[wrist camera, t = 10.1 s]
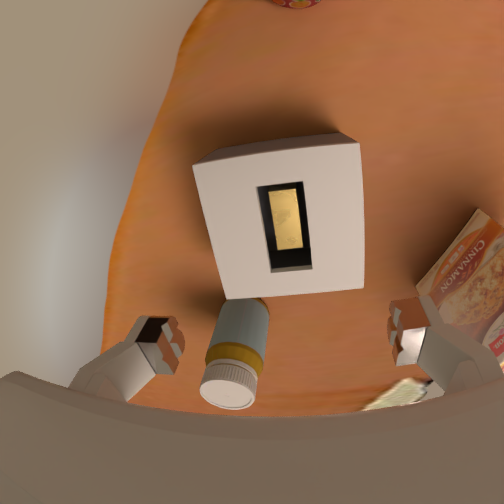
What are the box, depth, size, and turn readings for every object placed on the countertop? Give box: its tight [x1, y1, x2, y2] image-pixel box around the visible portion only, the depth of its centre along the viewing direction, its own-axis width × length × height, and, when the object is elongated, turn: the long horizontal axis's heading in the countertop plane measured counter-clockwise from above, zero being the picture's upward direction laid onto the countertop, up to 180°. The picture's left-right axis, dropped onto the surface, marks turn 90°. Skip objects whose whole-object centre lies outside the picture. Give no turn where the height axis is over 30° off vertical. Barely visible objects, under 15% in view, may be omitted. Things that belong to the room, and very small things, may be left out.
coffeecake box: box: [415, 208, 504, 373], centre depth 26 cm, size 15×7×20 cm, turn 150°
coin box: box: [192, 133, 364, 299], centre depth 30 cm, size 14×14×9 cm
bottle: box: [200, 298, 269, 410], centre depth 36 cm, size 7×7×15 cm
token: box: [269, 182, 303, 250], centre depth 30 cm, size 2×6×6 cm, turn 10°
